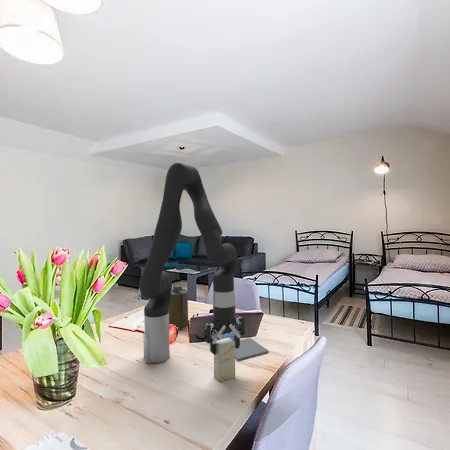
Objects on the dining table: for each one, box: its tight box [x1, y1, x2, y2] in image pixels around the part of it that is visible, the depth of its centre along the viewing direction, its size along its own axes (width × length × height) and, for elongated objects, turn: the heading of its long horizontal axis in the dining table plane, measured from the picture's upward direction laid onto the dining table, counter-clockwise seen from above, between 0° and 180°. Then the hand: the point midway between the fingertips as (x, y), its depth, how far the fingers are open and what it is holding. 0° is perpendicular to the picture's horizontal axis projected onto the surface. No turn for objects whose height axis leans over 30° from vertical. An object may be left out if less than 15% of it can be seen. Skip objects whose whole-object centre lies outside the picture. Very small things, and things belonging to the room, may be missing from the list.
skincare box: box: [213, 337, 236, 382], centre depth 98 cm, size 6×4×12 cm
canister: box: [169, 284, 189, 330], centre depth 143 cm, size 11×10×20 cm
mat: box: [235, 337, 270, 362], centre depth 118 cm, size 14×14×1 cm
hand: (225, 350), depth 98 cm, fingers open, 8 cm apart
